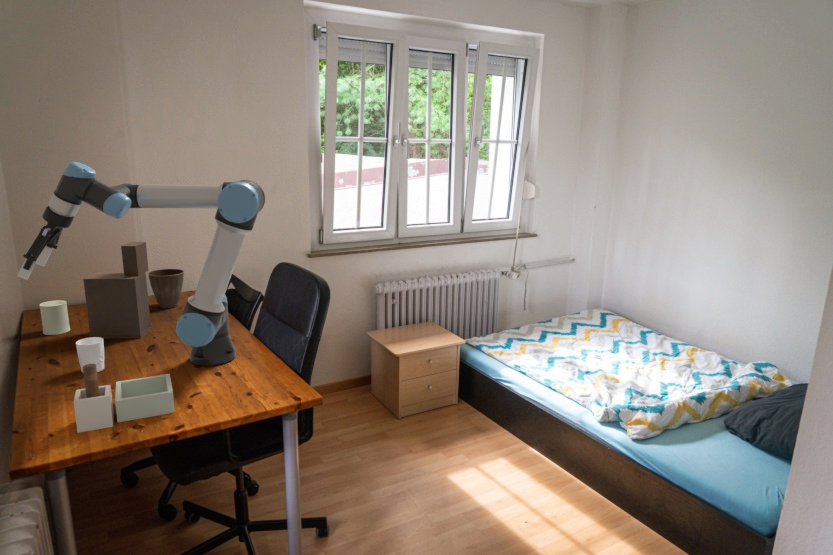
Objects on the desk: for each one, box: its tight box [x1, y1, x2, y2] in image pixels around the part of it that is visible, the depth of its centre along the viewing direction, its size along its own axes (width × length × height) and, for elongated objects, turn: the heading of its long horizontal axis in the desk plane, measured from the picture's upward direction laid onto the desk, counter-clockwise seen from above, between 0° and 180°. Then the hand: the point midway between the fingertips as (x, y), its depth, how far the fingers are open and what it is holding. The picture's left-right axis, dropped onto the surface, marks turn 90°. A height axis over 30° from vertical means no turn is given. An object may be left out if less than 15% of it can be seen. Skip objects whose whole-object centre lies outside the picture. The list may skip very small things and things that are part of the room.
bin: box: [114, 373, 175, 423], centre depth 159 cm, size 14×14×7 cm
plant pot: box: [147, 268, 185, 309], centre depth 259 cm, size 15×15×16 cm
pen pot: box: [73, 384, 115, 434], centre depth 149 cm, size 8×8×10 cm
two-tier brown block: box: [82, 241, 152, 339], centre depth 221 cm, size 19×14×35 cm
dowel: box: [82, 364, 100, 398], centre depth 148 cm, size 3×3×16 cm
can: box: [38, 299, 71, 336], centre depth 223 cm, size 9×9×12 cm
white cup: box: [75, 336, 106, 373], centre depth 186 cm, size 8×8×10 cm
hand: (31, 271), depth 173 cm, fingers open, 13 cm apart
